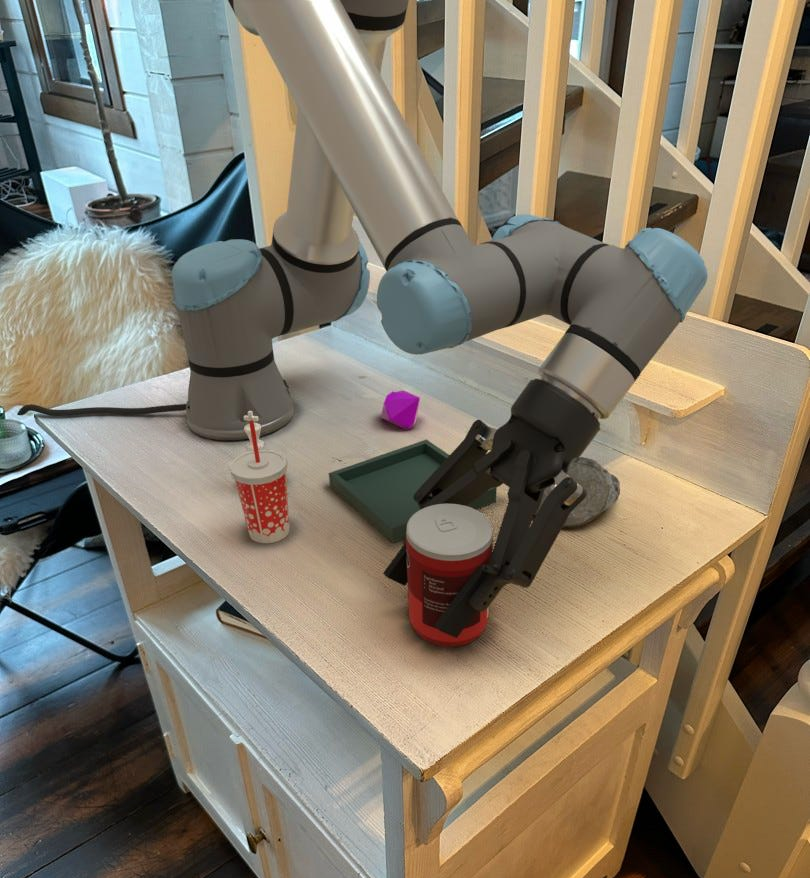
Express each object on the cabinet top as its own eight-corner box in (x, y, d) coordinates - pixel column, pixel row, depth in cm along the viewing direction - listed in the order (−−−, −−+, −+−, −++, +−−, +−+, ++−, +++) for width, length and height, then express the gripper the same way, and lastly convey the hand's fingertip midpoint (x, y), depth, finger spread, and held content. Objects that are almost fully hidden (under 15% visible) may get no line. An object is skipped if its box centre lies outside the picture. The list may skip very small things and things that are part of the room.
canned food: (452, 583, 77) (453, 493, 71) (506, 625, 72) (512, 531, 66) (392, 615, 74) (387, 523, 67) (444, 661, 69) (444, 566, 62)
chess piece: (273, 496, 92) (262, 422, 87) (235, 493, 93) (222, 419, 87) (286, 475, 96) (276, 403, 90) (250, 472, 97) (238, 401, 91)
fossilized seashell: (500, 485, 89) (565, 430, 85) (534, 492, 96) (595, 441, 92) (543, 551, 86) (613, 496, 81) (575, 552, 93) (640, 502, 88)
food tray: (329, 486, 94) (328, 472, 93) (426, 452, 100) (426, 439, 99) (392, 543, 84) (392, 528, 83) (496, 501, 90) (497, 487, 89)
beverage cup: (303, 518, 88) (288, 409, 80) (286, 549, 84) (270, 437, 75) (253, 514, 89) (234, 406, 81) (234, 545, 84) (212, 433, 76)
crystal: (415, 412, 110) (414, 383, 107) (422, 430, 105) (421, 399, 103) (380, 416, 109) (378, 386, 106) (385, 433, 105) (384, 403, 102)
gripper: (676, 466, 62) (511, 683, 65) (515, 379, 77) (386, 559, 79) (640, 426, 57) (462, 664, 60) (475, 340, 71) (337, 535, 74)
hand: (418, 604), depth 70 cm, fingers closed on canned food, 8 cm apart
